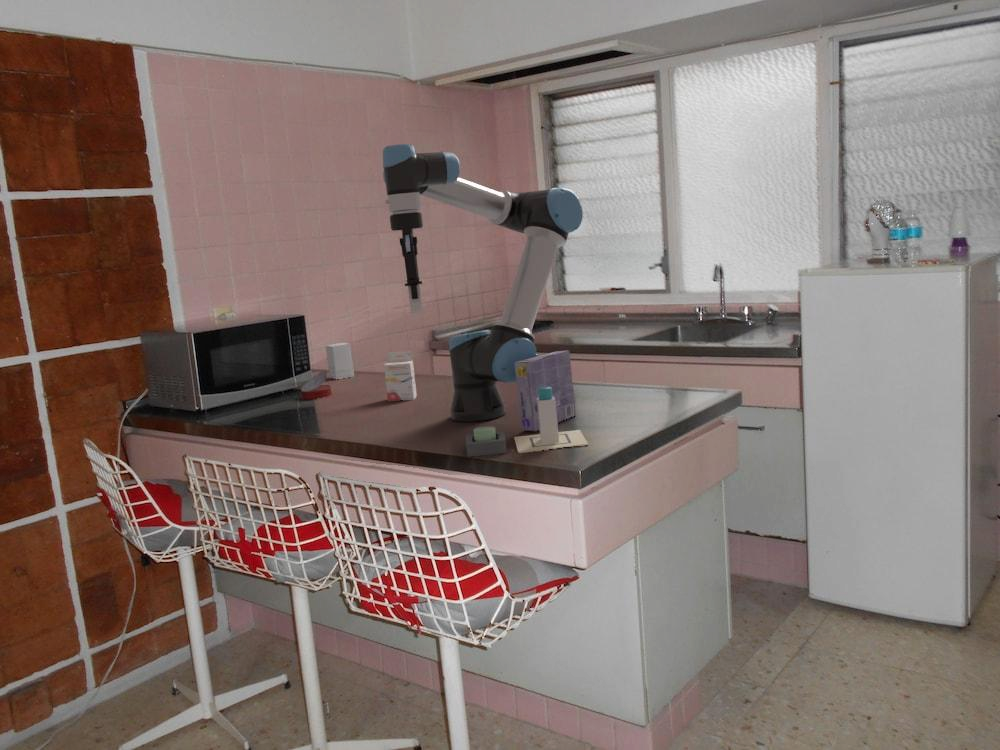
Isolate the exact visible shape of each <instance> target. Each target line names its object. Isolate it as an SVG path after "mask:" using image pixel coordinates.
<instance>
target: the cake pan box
mask: <svg viewBox="0 0 1000 750" xmlns="http://www.w3.org/2000/svg"><path fill="white" fill-rule="evenodd" d="M571 363H572V362H571V352H570V350H568V349H567V350H558V351H553V352H549V353H546V354H541V355H538V356H536V357H533V358H529V359H526V360H522V361H518V362H515V372H516V381H517V383H516V388H517V397H518V407H519V417H520V427H521V430H522V431H526V432H534V433H536V432H538V431H539V432H540V430H539V419H538V408H537V398H539V394H538V388H541V387H552V396H554V398H555V401H556V412H557V423H558V424H560V423H562V422H563V420H564V421H567V420H569V419H571V417H572V418H574V416H575V417H577V414H576V406H575V403H576V402H575V393H574V384H573V383H574V382H573V374H572V372H573V371H572V364H571ZM566 419H567V420H566ZM561 421H562V422H561ZM559 422H560V423H559Z"/></svg>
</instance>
